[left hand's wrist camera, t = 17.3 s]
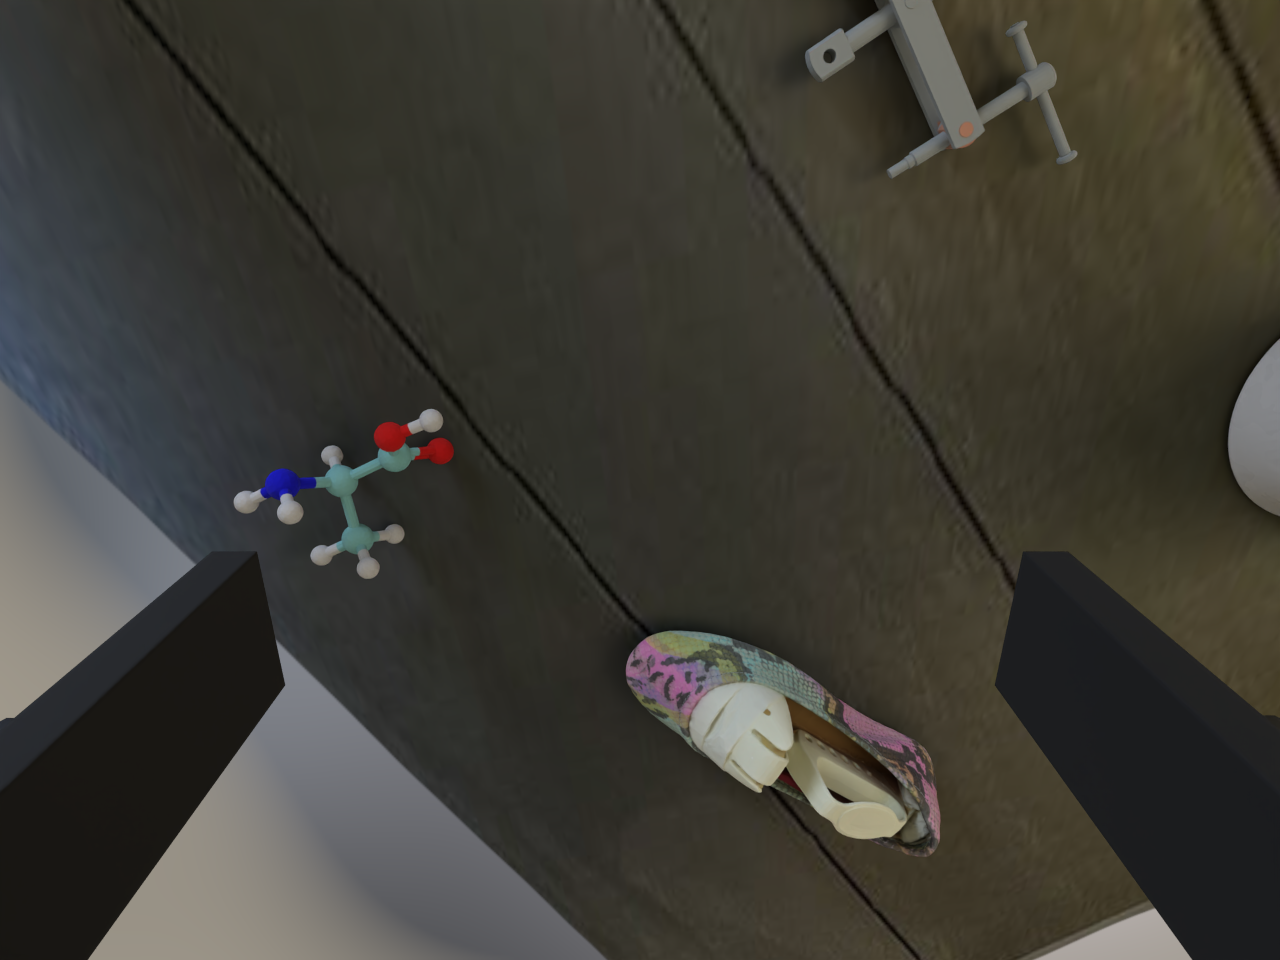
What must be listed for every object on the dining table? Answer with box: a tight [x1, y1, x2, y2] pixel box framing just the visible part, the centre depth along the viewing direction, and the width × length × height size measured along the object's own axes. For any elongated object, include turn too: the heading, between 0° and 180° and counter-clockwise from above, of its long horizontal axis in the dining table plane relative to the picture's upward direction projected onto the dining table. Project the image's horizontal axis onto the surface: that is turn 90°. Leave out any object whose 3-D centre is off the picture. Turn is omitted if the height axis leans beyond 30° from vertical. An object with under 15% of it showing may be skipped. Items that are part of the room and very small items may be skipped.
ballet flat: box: [626, 631, 940, 857], centre depth 48 cm, size 8×24×9 cm, turn 59°
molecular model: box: [234, 409, 454, 579], centre depth 42 cm, size 12×10×10 cm
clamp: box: [805, 0, 1077, 179], centre depth 37 cm, size 15×2×10 cm
